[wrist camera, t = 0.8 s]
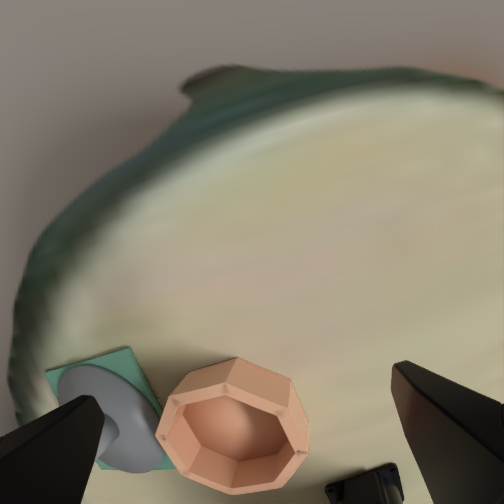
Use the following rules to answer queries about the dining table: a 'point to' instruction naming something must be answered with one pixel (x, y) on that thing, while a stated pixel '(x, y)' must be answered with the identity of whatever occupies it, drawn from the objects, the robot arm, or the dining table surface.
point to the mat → (127, 368)
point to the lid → (118, 417)
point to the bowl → (235, 428)
